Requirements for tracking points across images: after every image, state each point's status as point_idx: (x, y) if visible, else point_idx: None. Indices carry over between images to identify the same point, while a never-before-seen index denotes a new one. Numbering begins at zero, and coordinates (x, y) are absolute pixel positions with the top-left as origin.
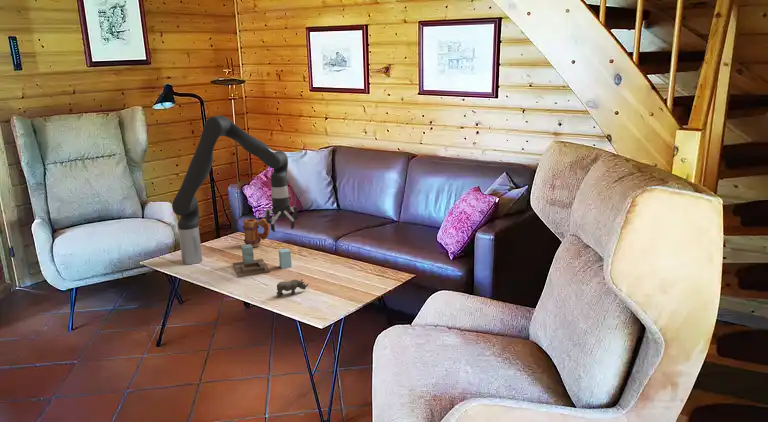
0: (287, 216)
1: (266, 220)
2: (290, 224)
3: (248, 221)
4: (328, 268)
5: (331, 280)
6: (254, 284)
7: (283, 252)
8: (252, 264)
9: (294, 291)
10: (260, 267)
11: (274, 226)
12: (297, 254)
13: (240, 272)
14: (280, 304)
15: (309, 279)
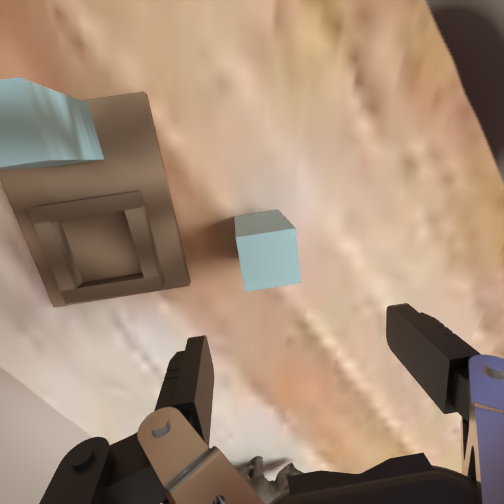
0: (473, 415)
1: (66, 494)
2: (413, 331)
3: None
4: (415, 306)
5: (385, 408)
6: (132, 381)
7: (260, 288)
8: (97, 213)
9: (260, 465)
10: (142, 285)
11: (210, 424)
12: (344, 56)
13: (53, 275)
14: None
15: (323, 385)
